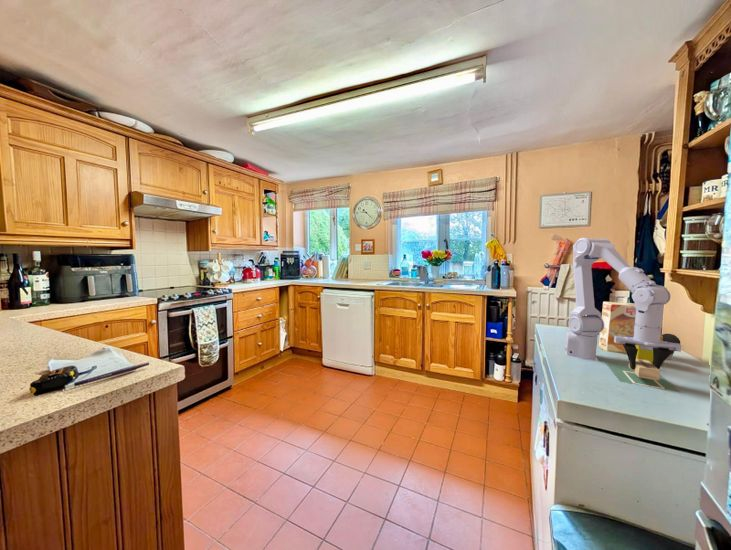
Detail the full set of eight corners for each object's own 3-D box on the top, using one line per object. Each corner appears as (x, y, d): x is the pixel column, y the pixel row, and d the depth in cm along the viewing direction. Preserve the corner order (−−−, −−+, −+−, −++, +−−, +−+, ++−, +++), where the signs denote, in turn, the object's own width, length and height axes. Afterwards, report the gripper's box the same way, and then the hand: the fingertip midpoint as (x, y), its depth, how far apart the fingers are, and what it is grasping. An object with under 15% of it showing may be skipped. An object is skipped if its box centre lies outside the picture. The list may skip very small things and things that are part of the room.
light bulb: (680, 364, 103) (683, 337, 102) (658, 361, 106) (661, 334, 105) (674, 359, 108) (677, 333, 107) (654, 356, 110) (656, 330, 110)
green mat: (619, 383, 86) (619, 380, 86) (604, 363, 102) (604, 361, 102) (680, 394, 80) (680, 391, 80) (654, 371, 96) (654, 369, 96)
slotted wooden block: (628, 366, 93) (629, 357, 92) (647, 369, 90) (648, 360, 90) (638, 377, 85) (639, 366, 84) (659, 380, 83) (660, 370, 82)
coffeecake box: (606, 352, 114) (611, 303, 112) (597, 347, 120) (602, 301, 119) (653, 357, 109) (659, 306, 108) (642, 351, 116) (647, 303, 115)
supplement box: (655, 362, 104) (658, 332, 103) (660, 367, 99) (663, 336, 98) (633, 358, 107) (636, 330, 107) (636, 363, 103) (639, 333, 102)
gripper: (620, 325, 86) (616, 369, 87) (688, 332, 80) (683, 380, 81) (613, 320, 93) (610, 361, 94) (676, 327, 86) (671, 371, 87)
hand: (643, 370), depth 87 cm, fingers closed on slotted wooden block, 4 cm apart
